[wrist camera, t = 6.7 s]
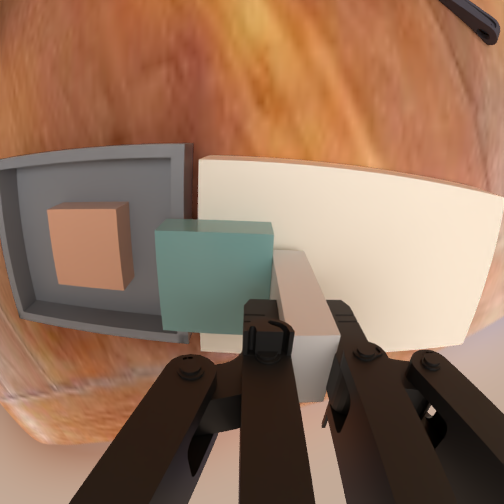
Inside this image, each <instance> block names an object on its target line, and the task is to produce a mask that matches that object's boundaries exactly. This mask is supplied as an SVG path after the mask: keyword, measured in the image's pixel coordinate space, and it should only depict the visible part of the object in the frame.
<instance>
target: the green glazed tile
mask: <svg viewBox="0 0 504 504" xmlns="http://www.w3.org/2000/svg"><path fill="white" fill-rule="evenodd" d="M273 245H274V232H273V228H272V224H271V222H258V221H233V220H202V219H165V220H164V221H163V222H162V223H161V224H160V225H159V226H158V227H157V228H156V229H155V248H156V262H157V275H158V287H159V297H160V307H161V316H162V325H163V330H169V331H181V332H195V333H211V334H231V335H243V315H244V305H245V304H246V303H247V301H248V300H249V299H270V286H271V272H272V259H273Z"/></svg>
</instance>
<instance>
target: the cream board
mask: <svg viewBox="0 0 504 504" xmlns="http://www.w3.org/2000/svg"><path fill="white" fill-rule="evenodd" d="M503 210H504V197H502V196H499V195H497V194H494V193H491V192H488V191H485V190H482V189H479V188H476V187H473V186H470V185H465V184H461V183H456V182H451V181H446V180H441V179H436V178H431V177H426V176H420V175H414V174H409V173H403V172H396V171H390V170H383V169H377V168H369V167H362V166H354V165H346V164H338V163H328V162H319V161H308V160H297V159H284V158H269V157H251V156H228V155H209V156H206V157H204V158H201V159H199V174H198V219H202V220H233V221H258V222H271V224H272V228H273V232H274V245H273V250H297V251H304V252H305V254H306V256H307V259H308V261H309V263H310V265H311V268H312V270H313V272H314V274H315V277H316V279H317V281H318V283H319V286H320V288H321V290H322V292H323V295H324V297H325V299H326V300H342V301H343V302H345V303H346V304H347V305H348V306H350V308H351V310H352V311H353V313H354V316H355V317H356V319H357V322H358V323H359V325H360V327H361V328H362V330H363V332H364V334H365V336H366V338H367V340H368V342H371V343H375V344H376V345H378V346H380V347H381V348H382V349H383V350H384V351H385V352H393V351H406V350H417V349H427V348H436V347H445V346H453V345H460V344H463V341H464V339H465V337H466V334H467V332H468V329H469V327H470V324H471V322H472V319H473V317H474V314H475V311H476V309H477V306H478V303H479V300H480V297H481V294H482V291H483V288H484V285H485V282H486V279H487V276H488V272H489V269H490V265H491V262H492V258H493V255H494V251H495V247H496V243H497V239H498V234H499V230H500V225H501V220H502V215H503ZM242 342H243V335H231V334H211V333H200V343H201V351H207V352H222V353H241V352H242Z"/></svg>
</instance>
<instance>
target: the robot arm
mask: <svg viewBox="0 0 504 504" xmlns="http://www.w3.org/2000/svg"><path fill="white" fill-rule="evenodd" d="M326 390H327V393H328V397H329V402H328V406H327V409H326V412H325V415H324V418H323V421H322V428H325V426H326V424H327V421H328V422H329V426H330V430H331V435H332V439H333V444H334V448H335V452H336V457H337V461H338V466H339V470H340V475H341V479H342V484H343V488H344V494H345V498H346V503H347V504H504V414H503V413H502V412H501V411H500V410H499V409H498V408H497V407H496V406H495V405H494V404H493V403H492V402H491V401H490V400H489V399H488V398H487V397H486V396H485V395H484V394H483V393H482V392H481V391H479V389H478V388H477V387H475V386H474V384H472V383H471V382H470V381H469V380H468V379H467V378H466V377H465V376H464V375H463V374H462V373H461V372H460V371H459V370H458V369H457V368H456V367H455V366H453V365H452V364H451V363H450V362H449V361H448V360H447V359H446V358H445V357H444V356H442V355H441V354H439V353H437V352H434V351H432V350H418V351H417V352H415V353H413V355H412V357H411V359H410V362H409V361H401V360H395V359H390V358H388V356H387V354H386V353H385V351H384V350H383V349H382V348H381V347H380V346H378V345H376V344H375V343H371V342H368V340H367V338H366V336H365V334H364V332H363V330H362V328H361V327H360V325H359V323H358V322H357V319H356V317H355V316H354V313H353V311H352V310H351V308H350V306H348V305H347V304H346V303H345V302H343V301H342V300H326V299H325V297H324V295H323V292H322V290H321V288H320V286H319V283H318V281H317V279H316V277H315V274H314V272H313V270H312V268H311V265H310V263H309V261H308V259H307V256H306V254H305V252H304V251H297V250H273V259H272V272H271V286H270V299H249V300H248V301H247V303H246V304H245V305H244V315H243V342H242V352H241V353H240V355H239V356H238V357H237V358H235V359H234V360H232V361H230V362H227V363H223V364H217V365H214V363H213V362H212V361H211V360H209V359H208V358H206V357H203V356H201V355H193V354H189V355H181V356H179V357H177V358H174V359H173V360H171V361H170V362H169V363H168V364H167V365H166V367H165V368H164V370H163V371H162V373H161V374H160V375H159V377H158V378H157V380H156V381H155V382H154V384H153V385H152V387H151V388H150V389H149V391H148V392H147V394H146V395H145V396H144V398H143V399H142V401H141V402H140V403H139V405H138V406H137V408H136V409H135V411H134V412H133V413H132V415H131V416H130V418H129V419H128V420H127V422H126V423H125V425H124V426H123V427H122V429H121V430H120V432H119V433H118V434H117V436H116V437H115V439H114V440H113V442H112V443H111V444H110V446H109V447H108V449H107V450H106V451H105V453H104V454H103V456H102V457H101V459H100V460H99V461H98V463H97V464H96V466H95V467H94V468H93V470H92V471H91V473H90V474H89V476H88V477H87V478H86V480H85V481H84V483H83V484H82V486H81V487H80V488H79V490H78V491H77V493H76V494H75V495H74V497H73V498H72V500H71V501H70V503H69V504H188V502H189V500H190V498H191V495H192V493H193V491H194V489H195V487H196V484H197V482H198V480H199V477H200V475H201V473H202V470H203V468H204V466H205V464H206V461H207V459H208V457H209V454H210V452H211V450H212V447H213V445H214V443H215V440H216V438H217V436H218V433H219V432H224V431H229V430H233V429H237V428H240V456H239V504H315V498H314V492H313V485H312V478H311V473H310V466H309V459H308V453H307V447H306V440H305V435H304V428H303V422H302V416H301V410H300V404H299V402H323V400H324V397H325V394H326ZM431 405H432V406H433V407H434V409H435V410H436V413H435V414H434V416H431V415H430V414H429V413H428V412H427V411H428V410H429V408H430V406H431Z"/></svg>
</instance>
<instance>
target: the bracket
mask: <svg viewBox="0 0 504 504" xmlns="http://www.w3.org/2000/svg"><path fill="white" fill-rule="evenodd" d="M439 1H440V2H442V3H443V4H444V5H445V6H446V7H448V8H449V9H450V10H451V11H452V12H453V13H455V14H456V15H457V16H458V17H459V18H460V19H461V20H462V21H464V22H465V23H466V24H467V25H468V26H469V27H470V28H471V29H472V30H473V31H474V32H475V33H476V34H477V35H478V36H479V37H480V38H481V39H482V40H483V41H484V42H485V43H486V44H488V45H494V44H496V43H497V40H498V37H499V33H500V26H499V24H498V22H497V20H495V19H494V18H493V17H492V16H490V15H489V14H487V13H486V12H484V11H483V10H482V9H480V8H479V7H478V6H476V5H475V4H473V3H472V2H471V1H469V0H439ZM479 29H480V30H481V31H483V32H484V33H487V34H489V35H485V34H483V33H482V32H481V31H480V30H479Z"/></svg>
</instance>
